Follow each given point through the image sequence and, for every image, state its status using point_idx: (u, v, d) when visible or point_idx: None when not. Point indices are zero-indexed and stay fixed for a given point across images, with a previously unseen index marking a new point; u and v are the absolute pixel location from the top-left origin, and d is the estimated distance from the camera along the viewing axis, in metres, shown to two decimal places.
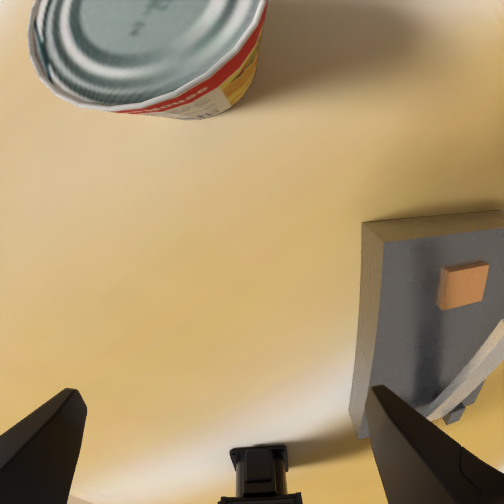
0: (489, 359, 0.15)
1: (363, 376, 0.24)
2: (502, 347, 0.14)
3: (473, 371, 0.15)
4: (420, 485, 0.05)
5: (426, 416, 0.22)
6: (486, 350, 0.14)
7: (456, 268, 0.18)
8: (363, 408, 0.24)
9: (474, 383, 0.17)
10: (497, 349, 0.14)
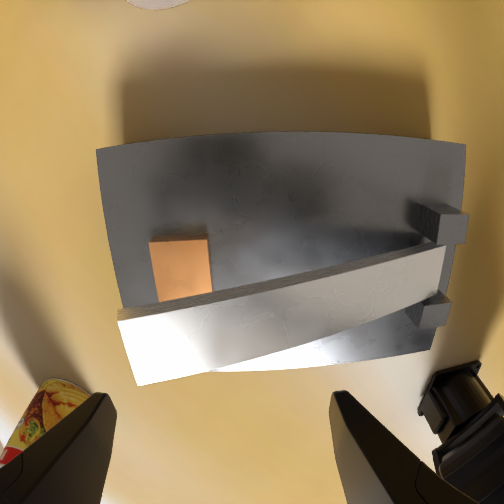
0: (222, 352, 0.12)
1: None
2: (189, 352, 0.11)
3: (253, 357, 0.12)
4: (374, 498, 0.05)
5: None
6: None
7: (159, 294, 0.17)
8: None
9: (320, 302, 0.13)
10: (191, 361, 0.11)
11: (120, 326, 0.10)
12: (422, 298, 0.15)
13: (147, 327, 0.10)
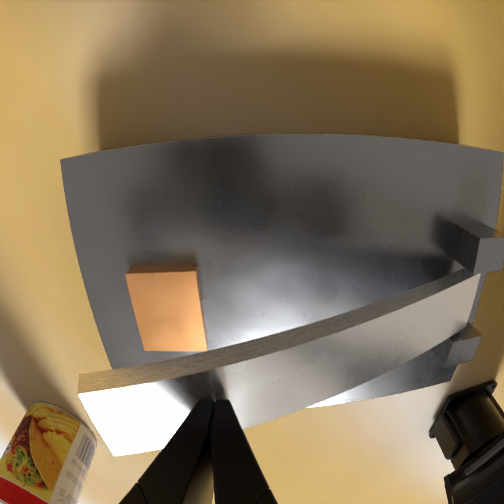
0: None
1: None
2: (172, 424, 0.08)
3: (253, 424, 0.09)
4: None
5: None
6: None
7: (142, 331, 0.14)
8: None
9: (339, 357, 0.09)
10: None
11: (82, 399, 0.07)
12: (451, 334, 0.12)
13: (115, 400, 0.07)
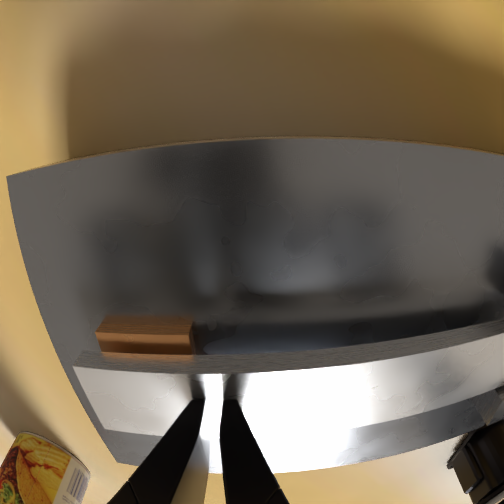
0: None
1: None
2: (155, 415, 0.08)
3: None
4: None
5: None
6: None
7: None
8: None
9: (341, 392, 0.08)
10: (159, 424, 0.09)
11: (76, 371, 0.08)
12: (494, 387, 0.09)
13: (104, 380, 0.08)
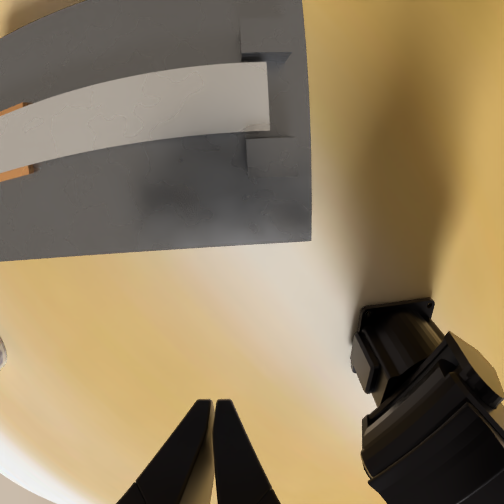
0: (14, 154, 0.12)
1: None
2: None
3: (33, 162, 0.12)
4: None
5: (213, 133, 0.12)
6: None
7: None
8: None
9: (79, 111, 0.11)
10: None
11: None
12: (236, 129, 0.12)
13: None
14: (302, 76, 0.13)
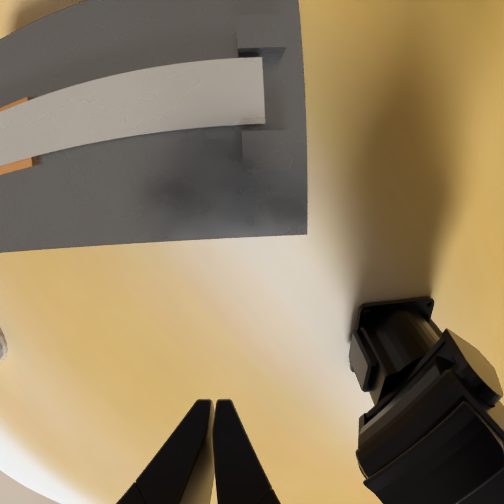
0: (18, 146, 0.12)
1: None
2: (2, 144, 0.12)
3: (36, 154, 0.12)
4: None
5: (209, 126, 0.13)
6: (10, 162, 0.13)
7: None
8: None
9: (81, 105, 0.12)
10: (3, 152, 0.12)
11: None
12: (232, 122, 0.13)
13: None
14: (298, 72, 0.13)
